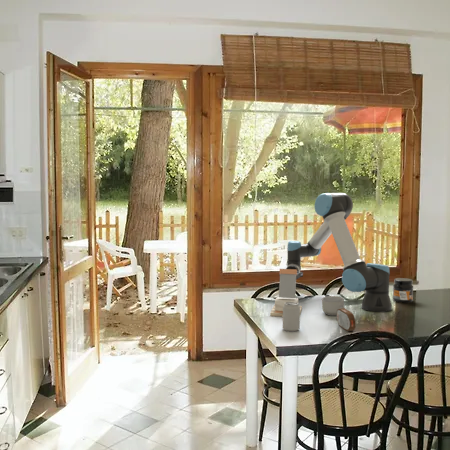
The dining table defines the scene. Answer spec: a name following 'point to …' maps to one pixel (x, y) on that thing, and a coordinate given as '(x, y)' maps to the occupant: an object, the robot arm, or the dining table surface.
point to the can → (291, 316)
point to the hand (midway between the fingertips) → (288, 279)
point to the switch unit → (279, 305)
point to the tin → (346, 319)
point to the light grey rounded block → (332, 304)
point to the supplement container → (403, 290)
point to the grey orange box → (287, 283)
